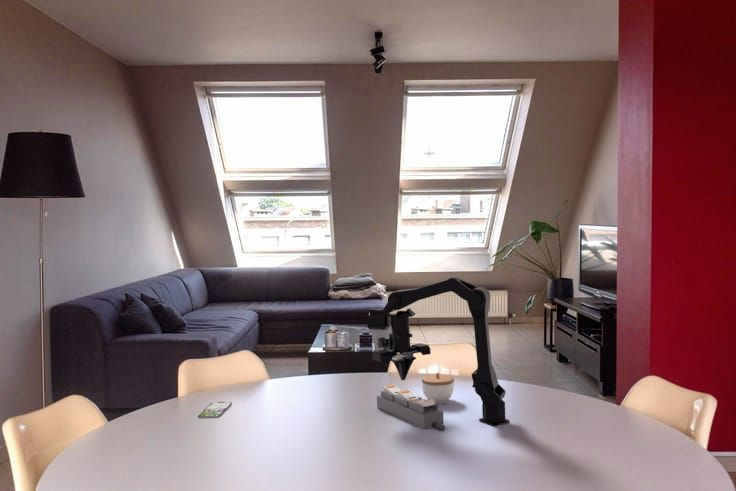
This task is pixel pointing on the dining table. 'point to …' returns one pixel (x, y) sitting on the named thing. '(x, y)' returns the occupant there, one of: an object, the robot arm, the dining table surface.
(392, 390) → the block
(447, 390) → the lidded jar
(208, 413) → the smartphone
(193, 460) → the dining table surface
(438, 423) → the rocker switch panel
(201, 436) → the dining table surface
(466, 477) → the dining table surface
